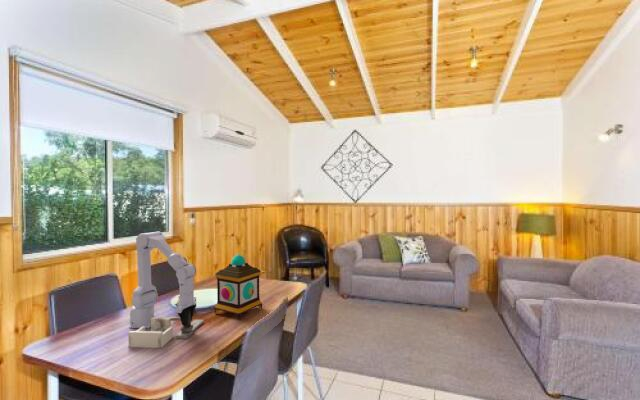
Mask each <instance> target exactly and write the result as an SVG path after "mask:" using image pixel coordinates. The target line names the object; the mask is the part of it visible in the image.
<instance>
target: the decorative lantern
mask: <svg viewBox="0 0 640 400" xmlns="http://www.w3.org/2000/svg"><path fill="white" fill-rule="evenodd" d="M261 273H262V270H260V269H259V268H258V267H254V266H251V264H249V262H246V259H245V257H244V256H243V255H241V254H236V255H234V256H233V258H232V259H231V263H229V264H228V265H227V266H226V267H224V268H223V269H219V270H218V271H217V272H216V273H214V276H215V277H216V281H217V282H216V283H217V286H216V289H217V299H216V300H217V302H216V305H214V314H215V315H218V314H219V311H221V312H226V313H230V314H233V315H236V316H237V321H240V320H241V317H242V315H243V314H244V313H246V312H248V311H251V310H253V309H255V308H257V307H258V309H259V310H260V311H261V310H262V309H263V303H262V301H261V298H260V275H261Z"/></svg>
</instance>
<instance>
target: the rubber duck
mask: <svg viewBox="0 0 640 400" xmlns="http://www.w3.org/2000/svg"><path fill="white" fill-rule="evenodd" d="M150 331H160V332H163V329H162V328H161V324H160V323H159V321H158V322H157V320H156V323H155V322H154V323H153V325H152V330H151V329H150Z"/></svg>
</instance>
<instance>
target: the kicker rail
mask: <svg viewBox="0 0 640 400" xmlns="http://www.w3.org/2000/svg"><path fill="white" fill-rule="evenodd" d="M204 322H205V321H204V319H194V320H192V321H191V325H193V329H192V330H191V331H181V330H180V332H179V333H178V334H176V339H188V338H189V337H190V336H191V335H192V334H193V333H194V332H195V331H196V330H197V329H199V327H200V326H202V324H203V323H204Z"/></svg>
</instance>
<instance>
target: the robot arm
mask: <svg viewBox="0 0 640 400" xmlns="http://www.w3.org/2000/svg"><path fill="white" fill-rule="evenodd" d="M135 238H136V239H135V241H136V243H135V244H136V245H135V246H136V257H137V258H136V260H137V281H138V282H137V283H138V286H137V287H136V288H135V289H134V290H133V292H132V298H131V304H132V308H131V309H130V313H129V321H130V322H129V326H128V328H129V329H134V328H135V329H139V328H141V327H142V326H145V329H149V328H151V319H152V318H155V305H156V302H157V301H158V299H159V294H158V291H157V287H156V286H155V285H153V283H152V265H151V251H153V250H154V249H157V250H158V251H160V253H162V255H164V256H165V257H166V258H167V263H168V264H169V266H170V267H171V268H172V269H173V270H174V271H175V272H176V273H175V276H176V278H177V282H178V284H179V289H178V290H179V297H180V303H179V305H178V307H177V306H176V308H175V310H176V311H175V313H176V314H177V315H178V317H180V319H181V321H180V322H181V326H183V325H188V319H189V314H190V312H191V322H192V321H193V317H194V313H195V311H196V308H197V297H196V296H194V294H195V293H194V289H195V288H194V286H195V285H194V277H195V276H196V274H197V268H196V266H195V264H193V263H190V262H188V261H186V259H185V258H184V257H183V256H182V255H181V253H176V252H175V251H174V250H173V249H172V248H171V246H170V245H169V244H168V243H167V241H166V236H165V235H164V234H163V232H161V231H153V232H144V233H143V232H141V233H139V234H138V235H137V236H136V237H135Z"/></svg>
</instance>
